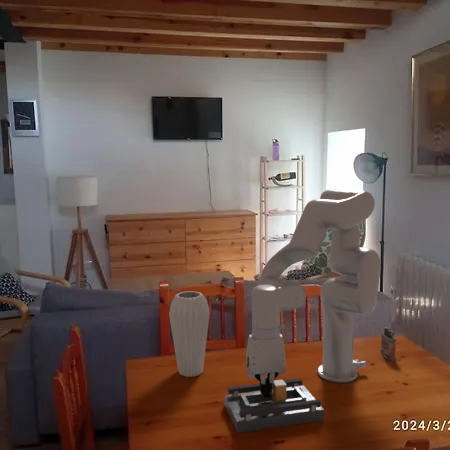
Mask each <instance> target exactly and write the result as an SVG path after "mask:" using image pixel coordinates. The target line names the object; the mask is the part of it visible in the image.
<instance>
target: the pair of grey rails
mask: <svg viewBox="0 0 450 450" xmlns="http://www.w3.org/2000/svg"><path fill="white" fill-rule="evenodd" d="M283 381H284V382H285V383H286V388H287V387H293V388H294V387H295V386H303V379H302V378H293V379H287V380H283ZM256 391H260V383H253V384H246V385H245V384H244V385H239V386H237V385H236V386H229V387H228V388H227V392H228V395H233V396H234V397H238V394H240V393H248V392H256ZM321 406H322V401H321V400H320V399H319V398H318V399H316V400H310V401H302V402H295V403H288V404H280V405H273V406H266V407H258V408H251V409H243V410H239V415H240V417H241V418H244V417H245V419H246V421H249V420H251V416H259V415H266V414H273V413H280V412H287V411H294V410H301V409H310V410H311V411H312V412H313V411H316V407H321Z"/></svg>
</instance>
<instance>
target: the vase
mask: <svg viewBox="0 0 450 450" xmlns="http://www.w3.org/2000/svg"><path fill="white" fill-rule="evenodd" d="M209 307H210V306H209V303H208V301H207V299H206V297H205V296H204V294H203V293H202V292H200V291H193V290H191V291H189V290H188V291H181V292H177V293H176V294H174V297H173V298H172V301H171V303H170V307H169V312H168V317H169V321H170V328H171V333H172V334H171V335H172V340H173V346H174V353H175V360H176V366H177V370H178V374H179V375H181V376H184V377H187V378H189V377H190V378H192V377H196V376H200V375H202V373H203V371H204V365H205V356H206V348H207V340H208V339H207V338H208V330H209V322H210V321H209V320H210V311H211V310H210V308H209Z"/></svg>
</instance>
